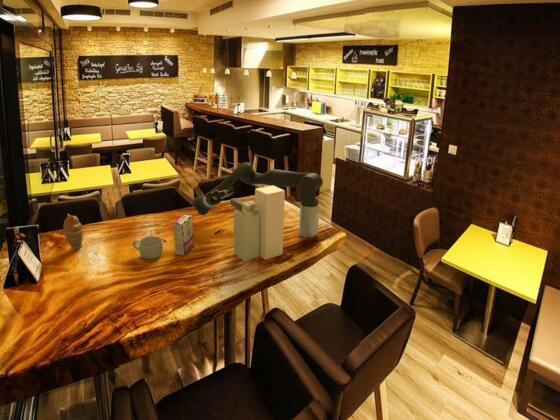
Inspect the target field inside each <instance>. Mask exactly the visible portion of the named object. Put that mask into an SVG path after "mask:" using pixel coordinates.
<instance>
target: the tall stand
mask: <svg viewBox="0 0 560 420" xmlns="http://www.w3.org/2000/svg"><path fill="white" fill-rule="evenodd" d="M254 189H255V191H254V196H255V197H254V199H255V200H254V202H255V203H257V204H258V213H259V257H261V258H262V259H264V260H265V261H266V260H268V259H272V258H275V257H279V256H282V255H283V254H284V253H283V252H284V251H283V250H284V249H283V248H284V229H285V227H284V226H285V225H284V224H285V198H286V197H285V195H286V194H285V193H286V191H285V190H284V189H282V188H281V187H276V186H270V185H267V186H264V187H263V186H262V187H257V188H254Z"/></svg>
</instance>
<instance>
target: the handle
mask: <svg viewBox="0 0 560 420" xmlns="http://www.w3.org/2000/svg"><path fill="white" fill-rule="evenodd" d="M230 205H231V207H234V208H235V209H236V210H240V211H242V213H243V214H244V215H246V216H248V217H249V216H253V215H257V214H258V204H257V203H255V201H253V200H249V201H243V200H240V199H239V198H237V197H235V198H234V197H233V198H230Z"/></svg>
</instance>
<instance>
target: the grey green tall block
mask: <svg viewBox="0 0 560 420" xmlns="http://www.w3.org/2000/svg"><path fill="white" fill-rule="evenodd" d="M233 237H234V238H233V246H234V248H233V250H234V251H233V254H234V255H235V256H236V257H238V258H239V259H240V260H242V261H243V262H246V261H250V260H252V259H256V258H259V257H260V256H259V213H258V214H257V215H253V216H249V217H248V216H246V215H244V214H243V213H242V211H240V210H238V209H235V210H233Z"/></svg>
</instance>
